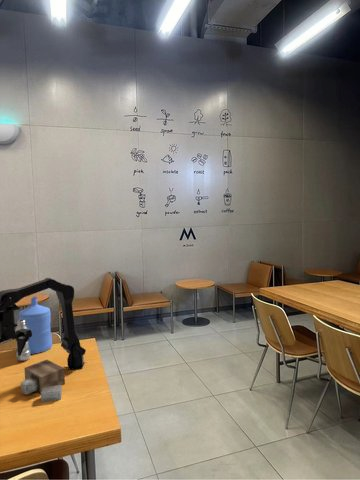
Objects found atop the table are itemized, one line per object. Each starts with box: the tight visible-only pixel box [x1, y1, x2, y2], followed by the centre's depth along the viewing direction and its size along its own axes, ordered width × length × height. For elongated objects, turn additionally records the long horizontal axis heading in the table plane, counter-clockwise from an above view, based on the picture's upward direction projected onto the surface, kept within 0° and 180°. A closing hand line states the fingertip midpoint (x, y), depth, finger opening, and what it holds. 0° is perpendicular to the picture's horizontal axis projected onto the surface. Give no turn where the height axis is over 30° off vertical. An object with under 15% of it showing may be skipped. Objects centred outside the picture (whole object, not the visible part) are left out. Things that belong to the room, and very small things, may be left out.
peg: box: [20, 377, 39, 396], centre depth 134 cm, size 7×4×4 cm, turn 141°
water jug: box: [18, 296, 53, 355], centre depth 178 cm, size 16×16×28 cm
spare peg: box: [40, 385, 63, 403], centre depth 129 cm, size 7×4×4 cm, turn 104°
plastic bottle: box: [15, 319, 32, 362], centre depth 164 cm, size 6×7×20 cm
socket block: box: [23, 359, 66, 394], centre depth 140 cm, size 10×14×7 cm
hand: (8, 359), depth 134 cm, fingers open, 9 cm apart
